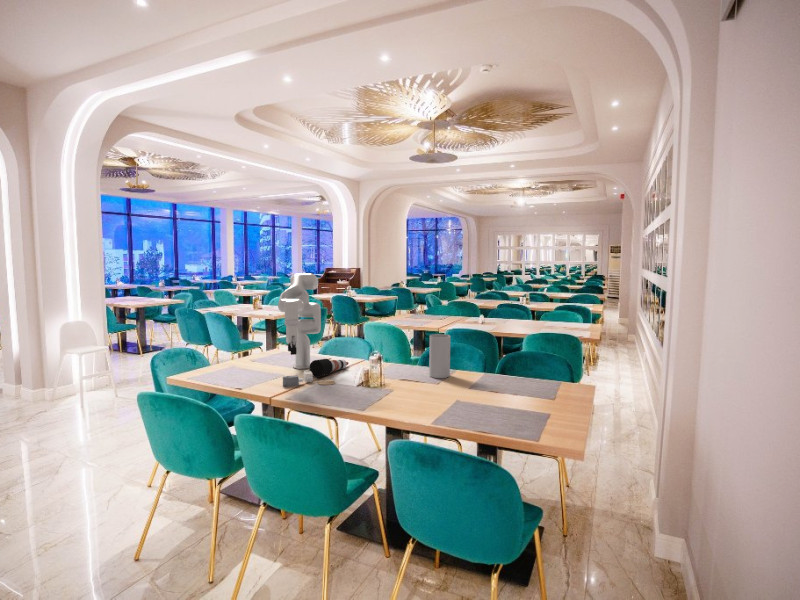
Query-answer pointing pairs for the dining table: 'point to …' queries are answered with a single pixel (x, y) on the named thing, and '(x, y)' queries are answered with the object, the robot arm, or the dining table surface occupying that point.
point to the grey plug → (291, 380)
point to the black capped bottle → (326, 366)
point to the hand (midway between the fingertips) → (292, 352)
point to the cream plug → (308, 376)
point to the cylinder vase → (439, 356)
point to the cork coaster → (326, 382)
